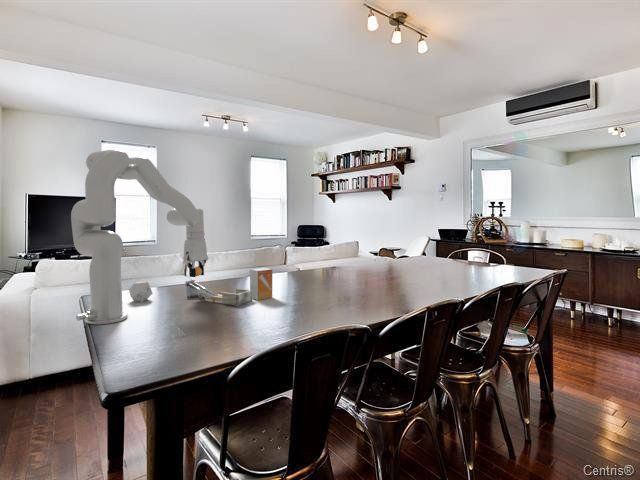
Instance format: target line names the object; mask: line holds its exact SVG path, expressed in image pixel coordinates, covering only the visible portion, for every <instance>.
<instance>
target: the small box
mask: <svg viewBox="0 0 640 480" xmlns="http://www.w3.org/2000/svg"><path fill="white" fill-rule="evenodd" d="M249 290H252V300H257V301H260V300H265V299H271V298H273V269H272V268H268V267H260V268H258V267H257V268H251V269H249Z"/></svg>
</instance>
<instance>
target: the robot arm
mask: <svg viewBox="0 0 640 480" xmlns="http://www.w3.org/2000/svg"><path fill="white" fill-rule="evenodd" d="M85 165H86V167H87V169H88V172H87V174H86V178H85V184H84V191H85V192H84V193H85V196H84V197H85V199H82V200H79V201H77V202H76V203H75V204H74V205H73V207H72V210H71V213H70V221H71V230H72V231H71V232H72V239H73V244H74V248H75V250H76V251H77V252H78V253H79V254H80V255H83V256H86V257H91V260H90V264H89V269H88V270H89V273H88V274H89V292H90V308H88V309H87V311H85V313H80V314H77V315H76V316H75V319H76V321H82V320H85V321H86V323H87V324H89V325H95V326H97V325H108V324H109V325H110V324H114V323H119V322H122V321H124V320H126V319H127V318H128V313H127V312H125V311H123V291H122V289H123V287H122V286H123V285H122V255H123V252H124V251H123V249H124V243H123V240H122V238H121V236H120V235H119V234H118V233H116V232H114V231H111V230H106V229H105V230H103V229H101V227H108V226H110V225H112V224H113V223H114V222H115V221H116V218H117V209H116V200H115V183H116V181H117V179H118V180H125V181H126V180H127V181H128V180H130V181H131V180H136V181H137V182H138V183H139V184H140V185H141V187H142V188H143V189H144V190H145V192H146V193H147V194H148V195H149V197H150V198H152V199H153V200H155V201H157V202H160V203H162V204H166V205H168V206H170V207H171V209H169V211H168V212H167V214H166V220H167V222H168V223H170V224H171V225H173V226H185V233H186V239H184V244H183V262H182V263H183V264H184V265H185V266H186V267H187V268H188V270H189V271H188V273H189V275H188V276H189V277H190V278H196V277H197V276H196V271H195V268H194V267H196V266H195V264H196V262H197V265H198V266H197V267H200V268H201V270H202V273H201V275H200V276H205V266H206V263H207V262H208V260H209V257H208V250H207V249H208V248H207V243H206V238H205V226H204V225H205V223H204V217H205V216H204V210H203V209H202V208H200V207H199V208H198V207H196V206H195V205H194V203H193V202H192V201H191V199H189V198H188V197H187V196H186V195H185V194H183V193H182V192H181V191H179V190H178V189H176V188H175V187H173V186H171V185H170V184H169V183H168V181H167V180H166V179H165V178H164V176H163V174H161V172H160V171H159V169H157V167H156V165H155V164H154V163H153V162H152V161H151V160H150V159H149V158H148V157H146V156H132V157H129V154H127V152H125V151H124V150H121V149H106V150H100V151H94V152H91V153H90V154H89V155H88V156H87V158H86V161H85Z"/></svg>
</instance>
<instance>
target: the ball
mask: <svg viewBox="0 0 640 480" xmlns="http://www.w3.org/2000/svg"><path fill="white" fill-rule="evenodd" d="M194 268H195V271H196V277H200V276H202V275H201V273H202V270H201V268H200V267H198V266H194Z"/></svg>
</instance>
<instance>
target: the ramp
mask: <svg viewBox="0 0 640 480" xmlns="http://www.w3.org/2000/svg"><path fill="white" fill-rule="evenodd" d="M184 283H185V284H184V285H185V287H186V297H189V298H191V297H194V296H198V298H199V299H203V298H204V299H205V295H206V296H213V295H214V296H217V293H215V292H213V291H212V290H210V289H208V288H206V287H204V286H203V285H201V284H199V283H197V282H195V279H190V280H186V281H184Z"/></svg>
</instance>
